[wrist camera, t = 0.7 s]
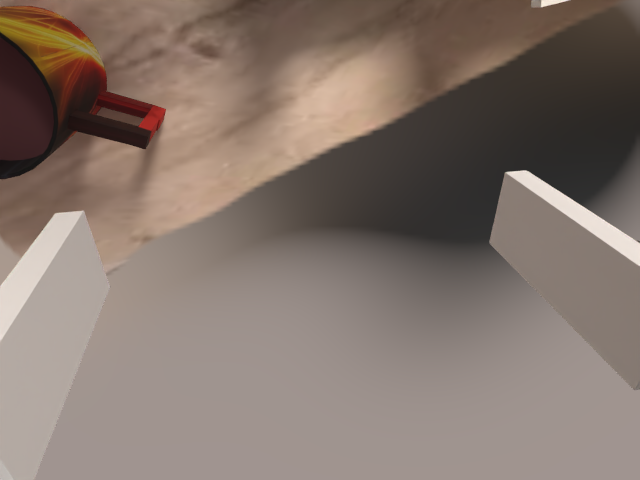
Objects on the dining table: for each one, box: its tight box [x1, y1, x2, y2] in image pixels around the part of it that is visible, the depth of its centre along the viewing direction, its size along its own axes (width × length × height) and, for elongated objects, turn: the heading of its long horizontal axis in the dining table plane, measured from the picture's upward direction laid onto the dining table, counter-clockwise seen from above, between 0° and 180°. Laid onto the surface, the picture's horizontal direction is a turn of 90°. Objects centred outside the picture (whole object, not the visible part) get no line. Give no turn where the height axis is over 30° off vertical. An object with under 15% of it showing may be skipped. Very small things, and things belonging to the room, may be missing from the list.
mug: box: [0, 6, 166, 179], centre depth 30 cm, size 10×14×12 cm
